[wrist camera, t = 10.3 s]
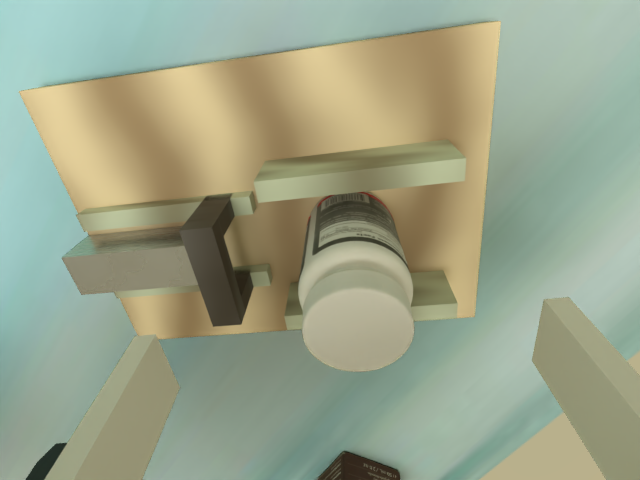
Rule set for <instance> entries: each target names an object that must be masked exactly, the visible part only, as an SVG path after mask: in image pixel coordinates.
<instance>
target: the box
mask: <svg viewBox="0 0 640 480" xmlns="http://www.w3.org/2000/svg"><path fill="white" fill-rule="evenodd" d="M317 480H400V474H399V472H398V471H397V470H394V469H392V468H389V467H387V466H384V465H381V464H379V463H376V462H374V461H371V460H368V459H365V458H363V457H359V456H356V455H353V454H351V453H348V452H342V453H341V455H340V456H339V457H338V458H337V459H336V460H335V461H334V462H333V463H332V465H331V466H330V467H329V468H328V469H327V470H326V471H325V472H324V473H323V474H322V475H321V476H320V477H319V478H318V479H317Z"/></svg>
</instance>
